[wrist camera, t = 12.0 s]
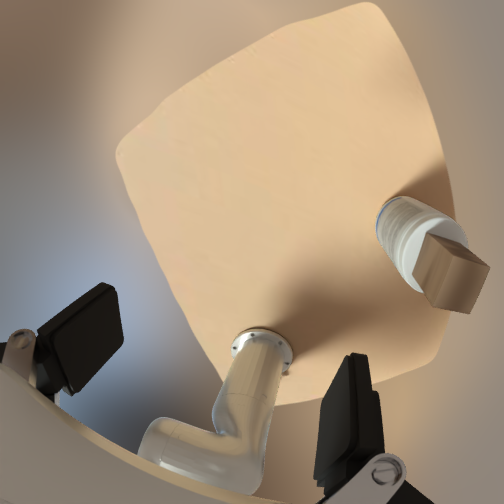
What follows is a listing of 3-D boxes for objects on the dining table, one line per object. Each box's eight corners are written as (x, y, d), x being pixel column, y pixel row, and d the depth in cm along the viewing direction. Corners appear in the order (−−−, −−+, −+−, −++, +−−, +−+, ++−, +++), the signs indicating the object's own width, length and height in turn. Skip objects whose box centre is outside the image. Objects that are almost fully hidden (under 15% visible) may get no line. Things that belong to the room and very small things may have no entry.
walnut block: (459, 242, 23) (490, 267, 17) (445, 282, 25) (469, 314, 19) (425, 232, 24) (453, 255, 18) (411, 274, 26) (432, 306, 20)
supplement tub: (374, 254, 41) (396, 300, 28) (372, 196, 38) (399, 219, 25) (426, 249, 38) (464, 291, 25) (427, 193, 35) (472, 214, 22)
